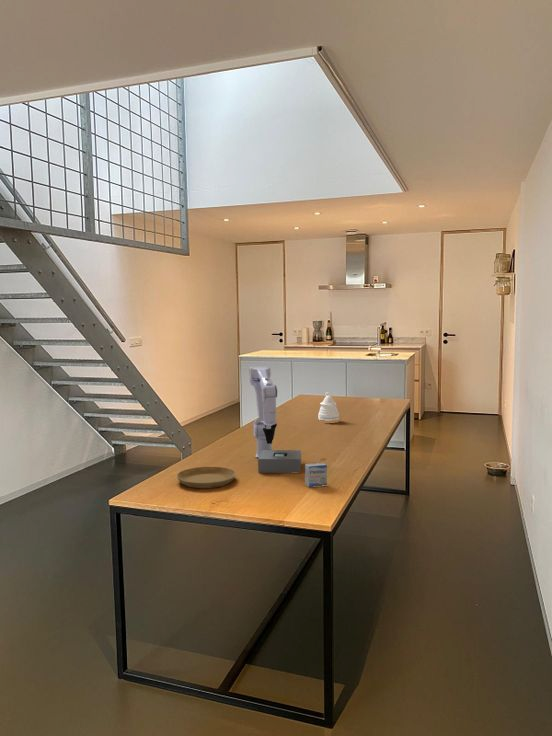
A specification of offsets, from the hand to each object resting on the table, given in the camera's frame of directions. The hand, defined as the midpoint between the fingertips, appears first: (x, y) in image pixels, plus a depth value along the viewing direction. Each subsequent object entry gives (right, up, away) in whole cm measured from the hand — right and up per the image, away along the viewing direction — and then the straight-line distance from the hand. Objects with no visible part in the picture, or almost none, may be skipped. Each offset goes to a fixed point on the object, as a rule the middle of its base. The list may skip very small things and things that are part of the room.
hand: (270, 441), depth 260 cm
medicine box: (+19, -14, -31) cm, 39 cm away
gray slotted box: (+5, -11, -5) cm, 13 cm away
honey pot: (+35, 0, +97) cm, 103 cm away
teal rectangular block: (+4, -10, -5) cm, 12 cm away
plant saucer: (-26, -14, -23) cm, 38 cm away
